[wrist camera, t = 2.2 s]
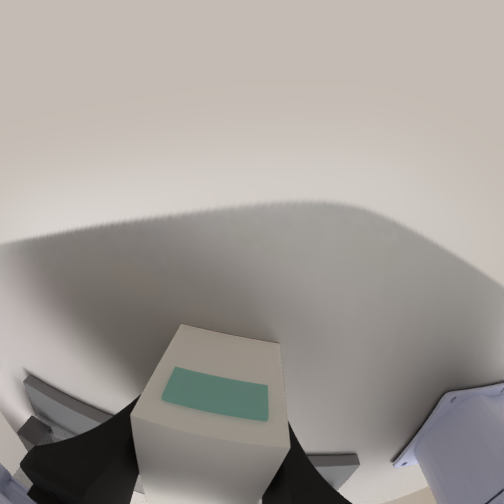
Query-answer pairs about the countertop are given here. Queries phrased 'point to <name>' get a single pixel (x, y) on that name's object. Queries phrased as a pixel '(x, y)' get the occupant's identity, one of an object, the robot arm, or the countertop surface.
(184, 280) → the countertop surface
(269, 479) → the block
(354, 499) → the countertop surface
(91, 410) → the panel
